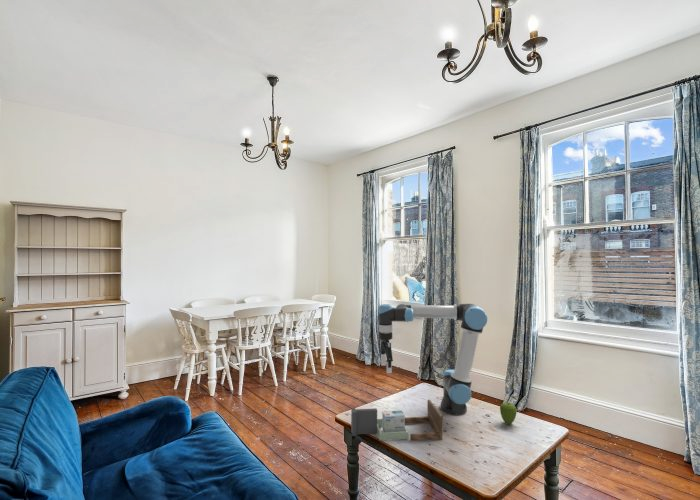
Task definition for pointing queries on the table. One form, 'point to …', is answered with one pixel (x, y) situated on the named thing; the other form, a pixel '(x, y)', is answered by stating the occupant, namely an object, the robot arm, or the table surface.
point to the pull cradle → (372, 425)
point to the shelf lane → (433, 419)
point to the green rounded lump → (508, 412)
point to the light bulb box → (393, 421)
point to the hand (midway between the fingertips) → (386, 369)
